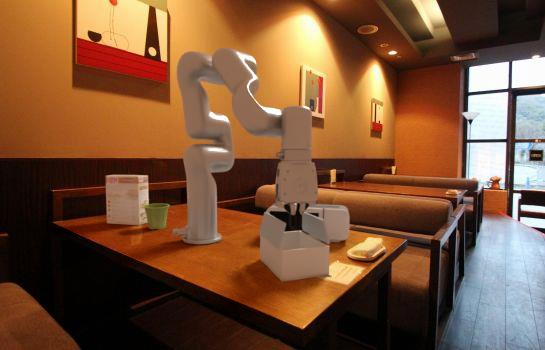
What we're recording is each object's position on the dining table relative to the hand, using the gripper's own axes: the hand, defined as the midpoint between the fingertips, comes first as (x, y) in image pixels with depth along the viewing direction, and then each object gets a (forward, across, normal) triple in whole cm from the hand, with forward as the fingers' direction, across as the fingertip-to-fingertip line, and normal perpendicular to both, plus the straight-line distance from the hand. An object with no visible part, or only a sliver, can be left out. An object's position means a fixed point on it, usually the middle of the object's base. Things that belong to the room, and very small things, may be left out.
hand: (295, 229), depth 81 cm
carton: (+10, -1, 0) cm, 10 cm away
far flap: (-1, +5, 0) cm, 5 cm away
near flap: (-1, -6, 0) cm, 6 cm away
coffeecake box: (+10, -44, +68) cm, 82 cm away
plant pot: (+10, -33, +55) cm, 65 cm away
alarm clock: (+10, +15, +24) cm, 30 cm away
